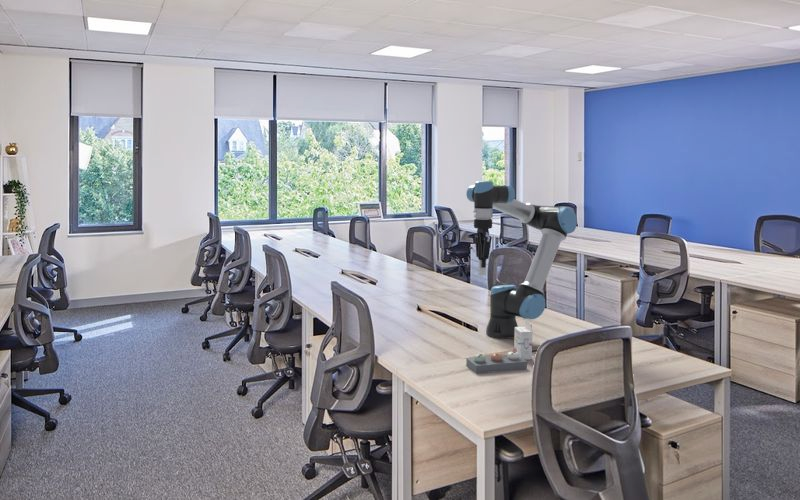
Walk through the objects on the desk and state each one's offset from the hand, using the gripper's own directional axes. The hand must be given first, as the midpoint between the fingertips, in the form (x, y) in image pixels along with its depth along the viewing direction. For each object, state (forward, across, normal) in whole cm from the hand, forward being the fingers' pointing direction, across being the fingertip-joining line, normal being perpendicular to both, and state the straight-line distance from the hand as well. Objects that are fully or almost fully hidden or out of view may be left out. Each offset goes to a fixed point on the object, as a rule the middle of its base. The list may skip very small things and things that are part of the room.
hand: (482, 275), depth 264 cm
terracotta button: (+29, +23, -3) cm, 37 cm away
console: (+32, +23, -3) cm, 40 cm away
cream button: (+29, +23, +4) cm, 38 cm away
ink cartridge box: (+33, +13, +13) cm, 37 cm away
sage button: (+29, +23, -10) cm, 39 cm away
